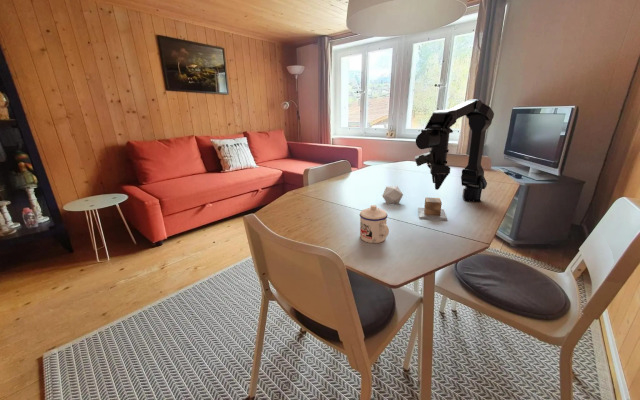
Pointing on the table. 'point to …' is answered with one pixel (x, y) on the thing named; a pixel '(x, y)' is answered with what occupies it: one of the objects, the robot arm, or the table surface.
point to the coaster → (423, 216)
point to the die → (392, 195)
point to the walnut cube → (432, 206)
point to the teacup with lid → (373, 225)
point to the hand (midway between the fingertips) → (435, 186)
